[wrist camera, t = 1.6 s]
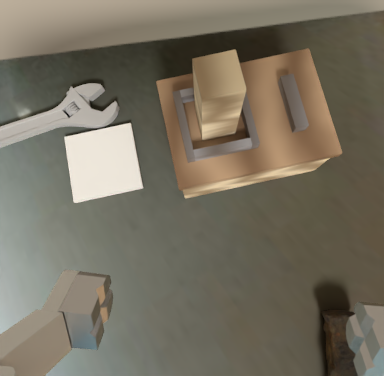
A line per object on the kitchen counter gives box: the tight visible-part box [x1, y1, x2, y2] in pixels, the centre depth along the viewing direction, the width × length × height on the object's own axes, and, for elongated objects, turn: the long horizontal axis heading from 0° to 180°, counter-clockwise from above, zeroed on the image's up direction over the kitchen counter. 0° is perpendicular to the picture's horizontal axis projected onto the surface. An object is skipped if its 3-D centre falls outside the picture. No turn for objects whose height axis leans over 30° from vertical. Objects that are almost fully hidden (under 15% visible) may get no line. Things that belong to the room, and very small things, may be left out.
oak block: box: [192, 49, 246, 141], centre depth 32 cm, size 4×4×10 cm
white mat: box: [64, 123, 143, 203], centre depth 45 cm, size 9×9×1 cm
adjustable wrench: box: [0, 83, 119, 148], centre depth 46 cm, size 25×6×2 cm, turn 105°
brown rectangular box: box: [156, 48, 342, 198], centre depth 40 cm, size 18×13×10 cm
